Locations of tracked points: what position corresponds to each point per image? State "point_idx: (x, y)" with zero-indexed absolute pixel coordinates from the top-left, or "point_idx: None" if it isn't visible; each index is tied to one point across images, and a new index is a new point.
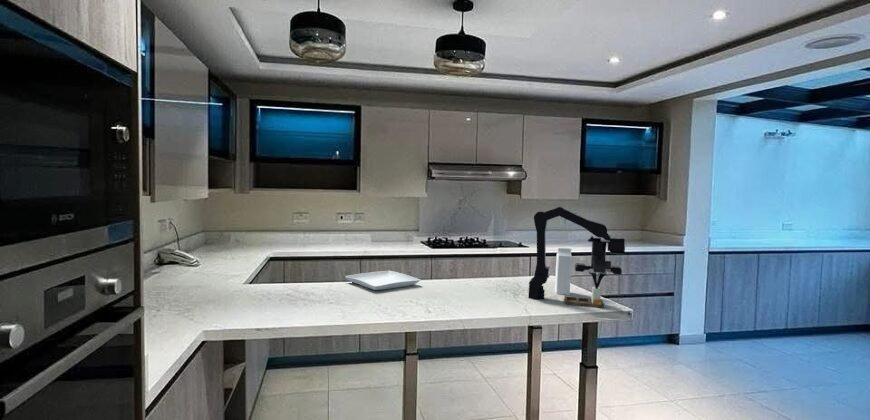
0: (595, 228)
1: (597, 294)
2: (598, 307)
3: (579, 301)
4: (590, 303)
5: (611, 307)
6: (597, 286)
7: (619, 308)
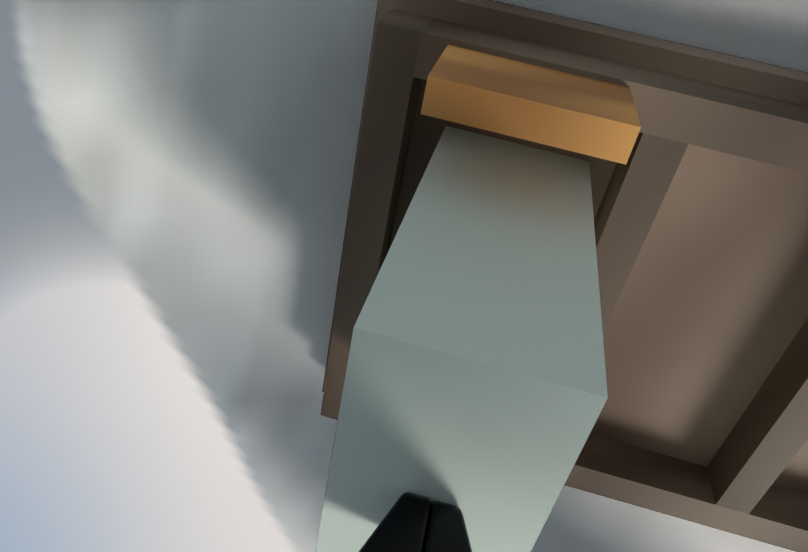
0: None
1: (479, 270)
2: (512, 28)
3: (713, 418)
4: (673, 137)
5: (225, 194)
6: (403, 546)
7: (106, 146)
